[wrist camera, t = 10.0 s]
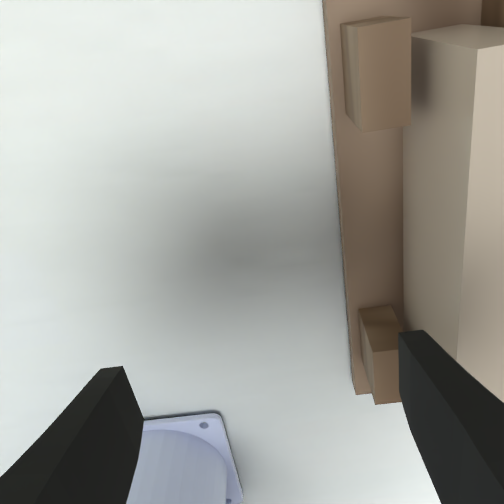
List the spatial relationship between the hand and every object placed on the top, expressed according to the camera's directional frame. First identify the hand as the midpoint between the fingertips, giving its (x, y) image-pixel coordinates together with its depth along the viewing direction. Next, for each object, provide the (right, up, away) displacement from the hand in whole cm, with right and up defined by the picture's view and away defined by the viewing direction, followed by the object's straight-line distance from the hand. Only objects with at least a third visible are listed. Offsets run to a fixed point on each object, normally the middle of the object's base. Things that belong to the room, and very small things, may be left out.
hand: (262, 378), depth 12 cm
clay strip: (+7, +5, +7) cm, 11 cm away
